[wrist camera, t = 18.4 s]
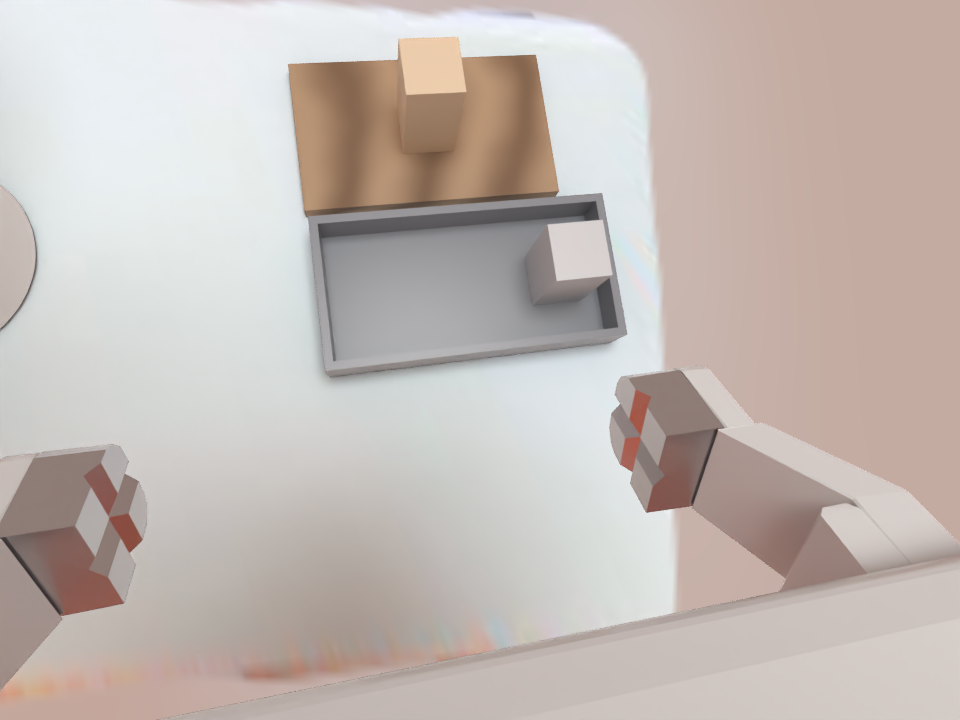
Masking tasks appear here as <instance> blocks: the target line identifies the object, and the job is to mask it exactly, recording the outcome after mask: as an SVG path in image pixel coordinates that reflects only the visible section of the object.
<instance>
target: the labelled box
mask: <svg viewBox="0 0 960 720" xmlns="http://www.w3.org/2000/svg"><path fill="white" fill-rule="evenodd" d="M465 97H466V86H465V79H464V72H463V66H462V59H461V52H460V46H459V39H458V37H442V38H409V39H399V42H398V82H397V111H398V119H399V126H400V133H401V141H402V148H403V154H413V153H429V152H445V151H454V147H455V143H456V138H457V133H458V129H459V124H460V120H461V115H462V110H463V106H464V101H465Z"/></svg>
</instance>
